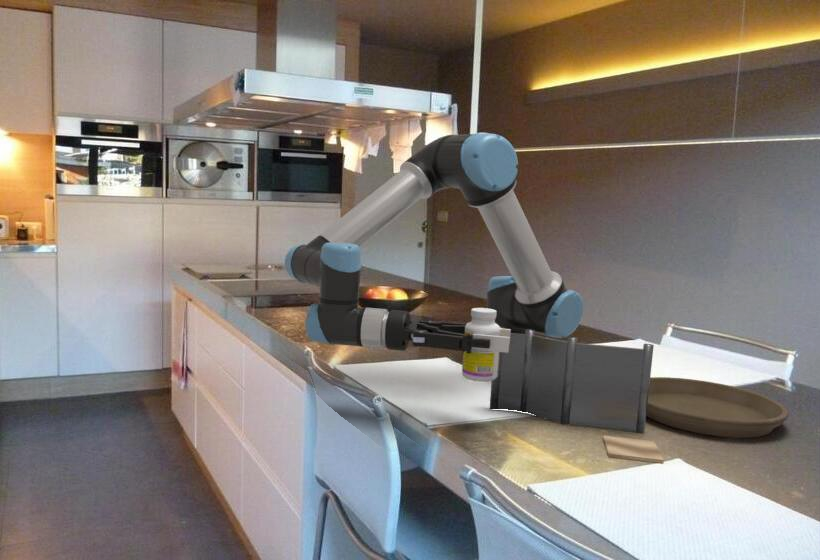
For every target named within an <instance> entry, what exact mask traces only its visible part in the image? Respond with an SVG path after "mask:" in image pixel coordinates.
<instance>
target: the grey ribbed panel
mask: <svg viewBox="0 0 820 560" xmlns="http://www.w3.org/2000/svg"><path fill="white" fill-rule="evenodd" d="M500 328H502V329H505V328H504V327H500ZM535 334H536V332H535V330H532V329H526V334H518V333H510V344H509V352H508V353H507V352H499V360H498V374H497V378H496V379H494V380H491V385H490V398H489V410H490V409H508V410H517V411H522V412H528V413H531V414H534V415H536V416H538V417H537V418H540V417H542V418H541V419H544V418H546V419H545V420H548V419H550V420H549V421H551V420H553V421H552V422H555V421H557V422H556V423H559V422H560V423H559V424H561V423H562V424H561V425H564V424H573V425H572V426H578V425H582V426H581V427H587V426H592V427H591V428H597V427H599V428H598V429H606V428H608V429H607V430H617V431H626V432H632V433H633V432H634V433H637V434H644V433H645V431H646V422H647V421H646V420H647V416H646V413H647V403H648V394H649V385H650V378H651V375H652V366H653V365H652V363H653V356H654V344H651V343H643V345H642V346H643V347H642V348H635V347H628V346H627V347H625V346H615V345H604V344H603V345H602V344H593V343H584V342H583V343H581V342H578V337H575V336H567V340H563V339H562V340H561V339H558V338H557V339H556V338H552V337H545V336H540V335H535ZM536 416H535V417H536ZM600 427H601V428H600Z"/></svg>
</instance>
